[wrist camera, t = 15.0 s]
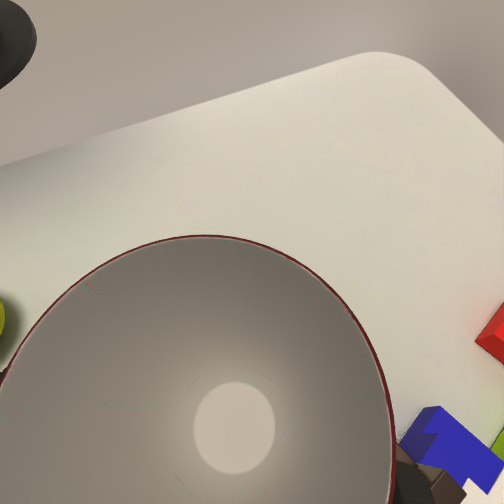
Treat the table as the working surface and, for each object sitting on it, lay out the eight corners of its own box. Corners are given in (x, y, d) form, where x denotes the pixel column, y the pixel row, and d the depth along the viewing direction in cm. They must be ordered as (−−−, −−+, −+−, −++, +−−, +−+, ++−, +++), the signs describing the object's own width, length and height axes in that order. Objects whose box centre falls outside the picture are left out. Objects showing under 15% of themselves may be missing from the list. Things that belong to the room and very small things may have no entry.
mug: (178, 664, 12) (-82, 1282, 3) (63, 469, 15) (-232, 512, 6) (363, 426, 15) (487, 410, 6) (238, 304, 18) (205, 180, 9)
